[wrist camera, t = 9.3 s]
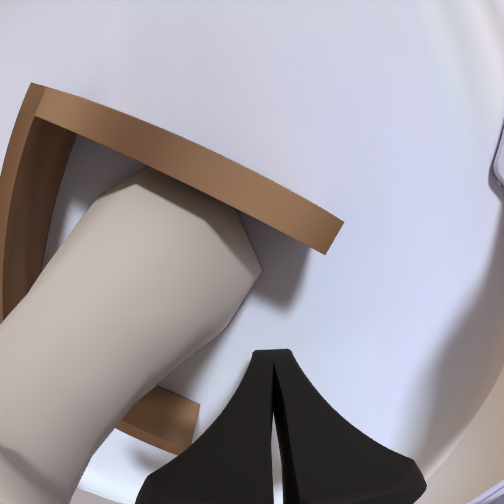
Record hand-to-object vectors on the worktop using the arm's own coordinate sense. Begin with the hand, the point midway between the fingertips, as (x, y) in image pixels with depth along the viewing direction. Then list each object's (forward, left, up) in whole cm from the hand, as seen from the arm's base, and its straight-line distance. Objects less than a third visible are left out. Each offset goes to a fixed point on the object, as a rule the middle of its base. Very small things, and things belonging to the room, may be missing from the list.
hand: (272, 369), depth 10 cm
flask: (+6, -1, -2) cm, 6 cm away
